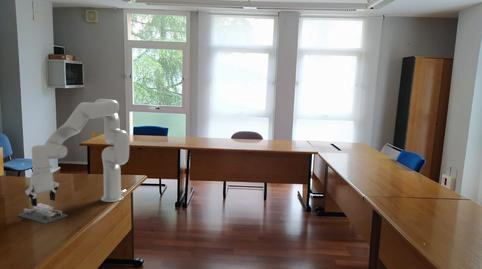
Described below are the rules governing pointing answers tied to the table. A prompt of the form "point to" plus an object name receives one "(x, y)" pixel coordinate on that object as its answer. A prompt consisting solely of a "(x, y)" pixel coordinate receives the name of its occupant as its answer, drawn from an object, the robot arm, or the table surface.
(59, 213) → the twin roller tray
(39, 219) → the grey flat plate
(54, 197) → the robot arm
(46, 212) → the tall grey pillar block
